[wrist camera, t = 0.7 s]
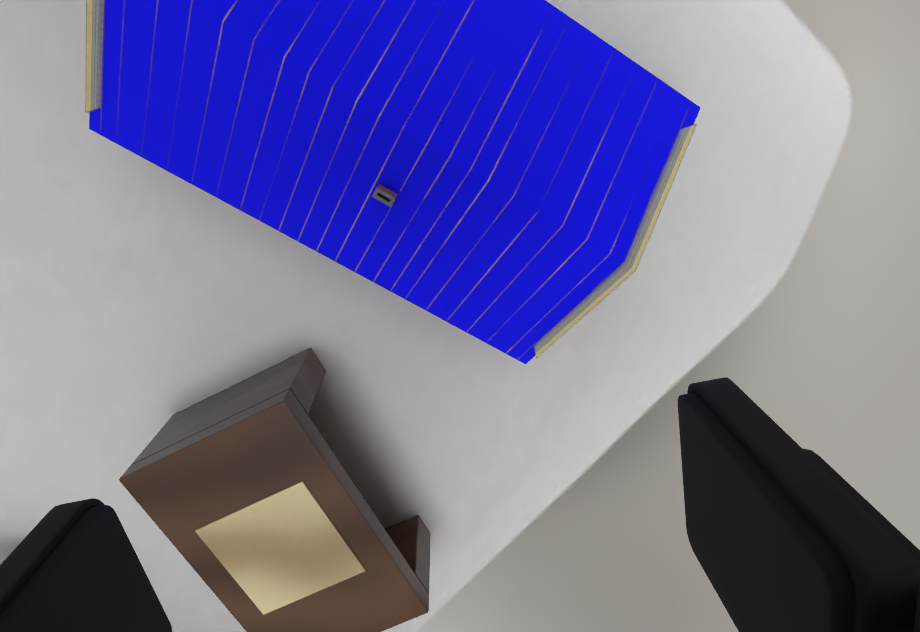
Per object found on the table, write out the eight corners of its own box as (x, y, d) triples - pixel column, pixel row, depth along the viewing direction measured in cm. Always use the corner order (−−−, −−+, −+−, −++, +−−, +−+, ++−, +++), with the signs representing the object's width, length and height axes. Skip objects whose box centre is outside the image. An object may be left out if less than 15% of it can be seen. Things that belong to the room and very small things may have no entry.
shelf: (172, 415, 33) (116, 481, 28) (311, 347, 32) (283, 401, 26) (304, 587, 38) (280, 675, 32) (430, 533, 37) (429, 614, 31)
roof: (124, 124, 28) (21, 133, 21) (245, -186, 24) (167, -300, 17) (518, 340, 32) (539, 406, 25) (674, 107, 28) (749, 109, 22)
